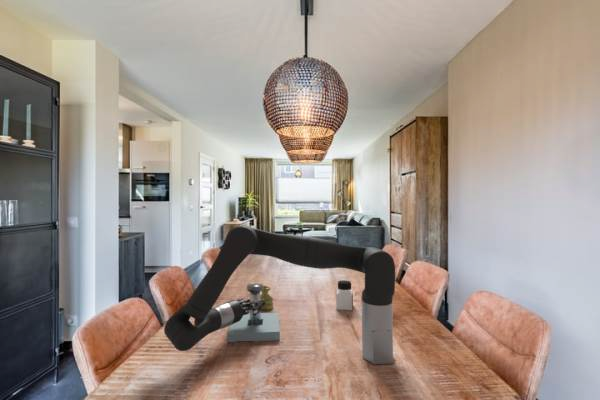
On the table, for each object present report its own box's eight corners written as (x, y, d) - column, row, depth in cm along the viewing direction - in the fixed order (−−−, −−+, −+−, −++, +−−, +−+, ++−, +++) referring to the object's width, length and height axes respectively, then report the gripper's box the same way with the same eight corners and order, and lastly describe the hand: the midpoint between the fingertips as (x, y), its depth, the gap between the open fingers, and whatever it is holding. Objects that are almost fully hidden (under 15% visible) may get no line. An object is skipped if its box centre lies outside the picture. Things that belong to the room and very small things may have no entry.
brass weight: (276, 307, 136) (276, 285, 136) (266, 312, 130) (265, 289, 130) (264, 304, 140) (264, 283, 140) (253, 309, 134) (253, 286, 134)
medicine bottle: (352, 310, 131) (352, 283, 131) (336, 309, 133) (335, 282, 133) (352, 305, 138) (352, 279, 138) (337, 304, 140) (337, 278, 140)
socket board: (279, 340, 104) (279, 331, 104) (227, 342, 102) (227, 334, 102) (278, 319, 122) (278, 312, 122) (234, 321, 120) (234, 314, 120)
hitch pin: (263, 330, 109) (262, 287, 109) (246, 330, 109) (246, 288, 109) (263, 323, 115) (263, 283, 115) (247, 324, 115) (247, 283, 115)
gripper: (240, 307, 96) (274, 294, 110) (211, 299, 104) (246, 287, 119) (240, 331, 96) (274, 314, 110) (211, 321, 104) (247, 306, 118)
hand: (260, 300), depth 114 cm, fingers closed on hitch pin, 4 cm apart
